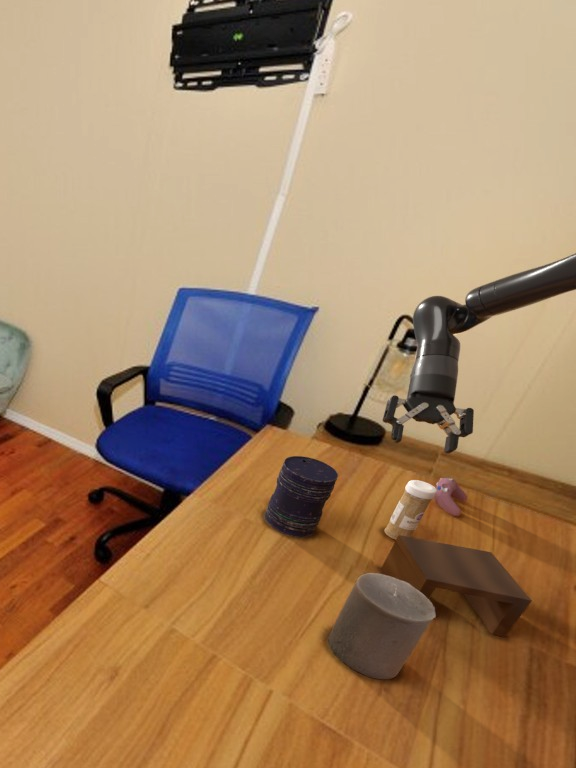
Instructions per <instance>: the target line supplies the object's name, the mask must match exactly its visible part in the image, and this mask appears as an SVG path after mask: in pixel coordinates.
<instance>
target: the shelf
mask: <svg viewBox="0 0 576 768" xmlns="http://www.w3.org/2000/svg"><path fill="white" fill-rule="evenodd" d="M380 570H381V572H382V573H381V574H383V575H387V576H391V577H394V578H396V579H399V580H401V581H405V582H407V583H409V584H410V585H411V586H413V587H414V588H415V589H417V590H419V591H420V592H421V593H422V594H424V595H425V596H426V598H428V599H429V600H430V598H431V596H432V595H433V593H434V591H435V590H436V589H440V590H445V591H450V592H454V593H460V594H463V596H464V597H465V598H466V600H467V601H468V603H469V604H470V606H471V607H472V608H473V610H474V611H475V613H476V614H477V616H478V617H479V619H480V621H482V623H483V624H484V626H485V627H486V628H487V630H488V632H489V633H490V634H491V635H492V636H497V637H502V638H506V637H507V635H508V634H509V633H510V631H511V630H512V629H513V627H514V626H515V625H516V623H517V622H518V620H519V619H520V617H522V615H523V613H524V612H525V611H526V609H527V608H528V607H529V606H530V604H531V602H533V600H532V599H531V598H530V596H529V595H528V594H527V593H526V591H524V589H523V588H522V587H521V585H520V584H519V583H518V582H517V581H516V580H515V578H513V576H512V574H510V572H509V571H508V570H507V569H506V568H505V566H504V565H503V564H502V563H501V562H500V560H499V559H498V558H497V557H496V556H495V555H494V554H493V552H492V551H489V550H488V551H487V550H482V549H476V548H471V547H465V546H462V545H461V546H460V545H455V544H449V543H444V542H439V541H434V540H428V539H423V538H417V537H412V536H411V537H407V536H402V535H398V537H397V539H396V540H394V543H393V545H392V547H391V549H390V550H389V552H388V554H387V556H386V558H385V560H384V562H383V563H382V566H381V568H380Z"/></svg>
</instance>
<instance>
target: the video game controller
mask: <svg viewBox="0 0 576 768" xmlns="http://www.w3.org/2000/svg"><path fill="white" fill-rule="evenodd" d="M435 488H436V489H437V492H436V494H435V496H434V498H433V499H434V501H435V502H436V503H437V505H438V506H439V507H441V509H442V510H443V511H445V512H446V513H447V514H448V515H450V516H453V517H459V516H460V515H461V513H462V511H461V509H460V507H459V506H458V505H457V504H456V502H455V501H454V500H453V498H454V499H455V500H456V501H459V502H466V501H467V500H468V495H467V493H466V492H465V490H463V489H462V488H461V487H460V485H459V483H457V481H456V480H455V479H454V478H450V477H440V478H439V480H438V481H437V482H436V487H435Z"/></svg>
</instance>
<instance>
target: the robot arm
mask: <svg viewBox="0 0 576 768" xmlns="http://www.w3.org/2000/svg"><path fill="white" fill-rule="evenodd" d="M573 291H576V252H575V253H573V254H570V255H567V256H566V257H563V258H560V259H558V260H555V261H553V262H549V263H546V264H544V265H540V266H537V267H534V268H533V267H532V268H530V269H527V270H523V271H520V272H516V273H513V274H511V275H508V276H504V277H502V278H499V279H496V280H493V281H490V282H488V283H485V284H482V285H479V286H477V287H475V288H473V289H471V290H469V291H468V293H466V295H465V298H464V299H465V301H464V303H465V304H461V303H460V302H457V301H455V300H454V299H451V298H449V297H446V296H442V295H432V296H428V297H426V298H424V299H423V300H421V302H419V304H417V306H416V307H415V309H414V311H413V315H412V326H413V332H414V337H415V341H416V345H417V346H416V352H415V357H414V362H413V364H412V367H411V372H410V374H409V384H408V390H407V395H406V398H405V399H404V398H400V397H399V396H398V395H392V396H391V397H390V398H388V399H387V402H386V406H385V409H384V412H383V418H382V422H383V423H385V424H388V425H391V427H392V428H391V434H390V439H391V440H392V441H393V443H394V444H399V443H401V441H402V439H403V434H404V428H405V425H404V424H405V423H407V422H408V421H410V420H411V419H413V420H414V421H415V422H418V423H427V424H429V425H435V424H436V425H437V426H438V427H439V429H440V430H443V431H444V433H445V434H446V437H445V443H444V448H443V449H444V450H443V452H444V454H451V453H452V452H454V451H456V450H457V449H458V446H459V439H460V438H466V437H468V436H470V435H472V434H473V432H474V414H475V413H474V412H475V410H474V408H472V407H466V408H459V407H456V406H455V400H456V399H455V398H456V393H457V392H456V391H457V385H458V379H459V360H460V354H461V353H460V352H461V342H460V340H459V339H458V337H456V335H459V334H463V333H465V332H468V331H469V330H472V329H473V328H475V327H477V326H478V325H480V324H483V323H484V322H486V321H488V320H490V319H492V318H493V317H496V316H499V315H503V314H506V313H509V312H513V311H515V310H519V309H522V308H525V307H528V306H531V305H534V304H537V303H540V302H543V301H546V300H549V299H551V298H554V297H557V296H559V295H563V294H566V293H569V292H573ZM400 406H403V407H404V409H405V410H406V413H405V414H404V415H402V416H400V417H399V418H397V417H395V415H396V410H397V409H398V408H399V407H400ZM454 414H455V415H456V418H457V419H459V427H458V426H457V425H456V421H455V420H454V419H453V417H452V415H454Z"/></svg>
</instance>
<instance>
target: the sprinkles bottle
mask: <svg viewBox="0 0 576 768" xmlns="http://www.w3.org/2000/svg"><path fill="white" fill-rule="evenodd" d="M436 488H437V487H435V486H434V485H433V484H430V483H429V482H427V481H423V480H418V479H411V480H409V481H408V482H407V483H406V485H405V487H404V492H403V494H402V496H401V497H400V499H399V500H398V503H397V505H396V506H395V509H394V511H393V513H392V514H391V516H390V519H389V522H388V523H387V526H386V527H385V528H384V533H385V535H386V536H387V537H389V538H391V539H392V540H394V541H396V539H397V537H398V535H402V536H407V537H412V536H413V534H414V532H415V530H417V528H418V526H419V524H420V523H421V521H422V519H423V517H424V515H425V513H426V510H427V508H428V507H429V505H430V503H431V501H432V500H433V499H435V498H434V496H435V494H436V492H437V489H436Z"/></svg>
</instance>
